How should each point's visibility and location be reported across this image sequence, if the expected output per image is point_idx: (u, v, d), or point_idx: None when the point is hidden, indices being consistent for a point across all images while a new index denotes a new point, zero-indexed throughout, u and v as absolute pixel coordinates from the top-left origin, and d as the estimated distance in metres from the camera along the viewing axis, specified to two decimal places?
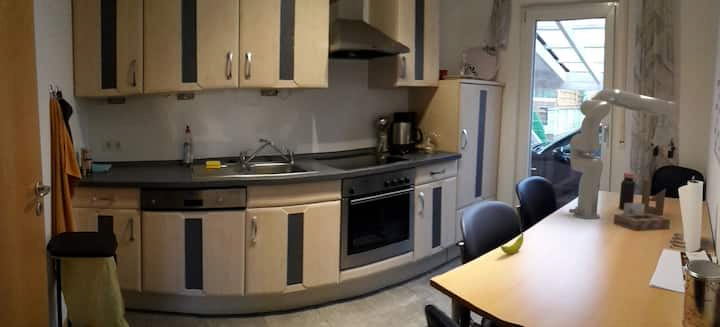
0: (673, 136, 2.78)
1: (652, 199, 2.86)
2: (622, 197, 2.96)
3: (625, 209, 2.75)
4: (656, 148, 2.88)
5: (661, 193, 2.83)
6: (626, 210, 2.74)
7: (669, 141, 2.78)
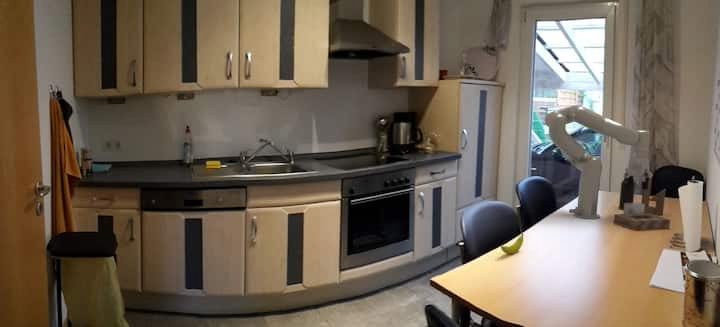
0: (647, 166, 2.67)
1: (652, 199, 2.86)
2: (622, 197, 2.96)
3: (625, 209, 2.75)
4: (631, 178, 2.77)
5: (661, 193, 2.83)
6: (626, 210, 2.74)
7: (643, 171, 2.67)
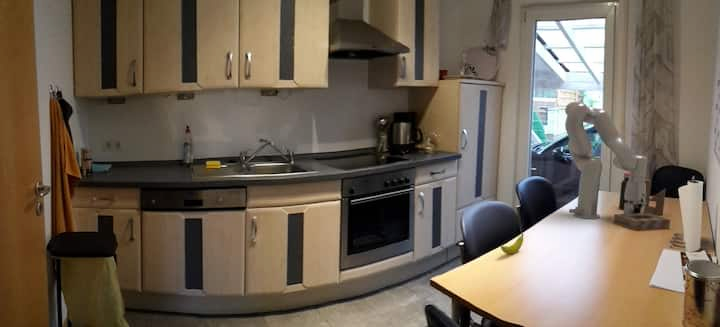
0: (644, 192, 2.69)
1: (652, 199, 2.86)
2: (622, 197, 2.96)
3: (625, 209, 2.75)
4: None
5: (661, 193, 2.83)
6: (626, 210, 2.74)
7: (640, 197, 2.69)
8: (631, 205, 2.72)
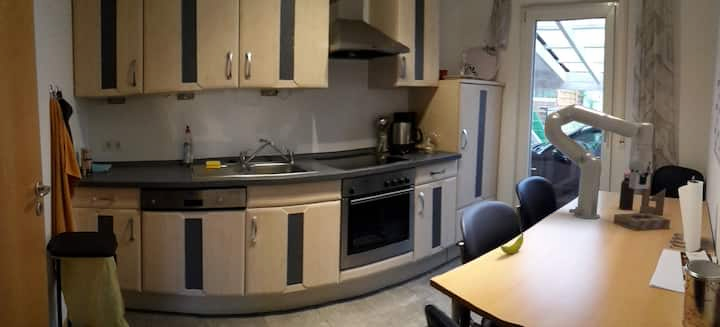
0: (650, 160, 2.62)
1: (652, 199, 2.86)
2: (622, 197, 2.96)
3: (631, 178, 2.67)
4: None
5: (661, 193, 2.83)
6: (632, 179, 2.67)
7: (646, 165, 2.61)
8: (637, 174, 2.64)
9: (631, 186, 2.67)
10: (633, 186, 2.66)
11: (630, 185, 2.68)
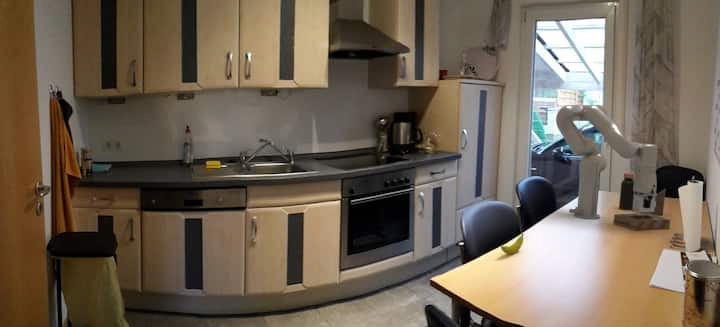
0: (654, 182, 2.52)
1: None
2: (622, 197, 2.96)
3: (635, 201, 2.58)
4: None
5: (661, 193, 2.83)
6: (635, 202, 2.58)
7: (650, 188, 2.52)
8: (641, 197, 2.55)
9: (635, 209, 2.58)
10: (637, 209, 2.57)
11: (634, 208, 2.59)
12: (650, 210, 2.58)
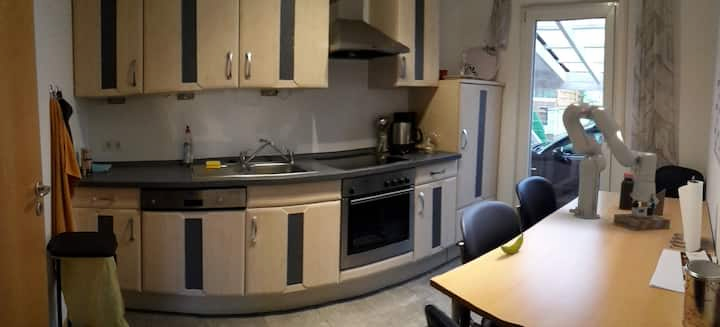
0: (653, 191, 2.53)
1: None
2: (622, 197, 2.96)
3: (633, 214, 2.59)
4: (636, 203, 2.63)
5: (661, 193, 2.83)
6: (633, 214, 2.59)
7: (649, 197, 2.53)
8: (639, 210, 2.56)
9: None
10: None
11: None
12: None
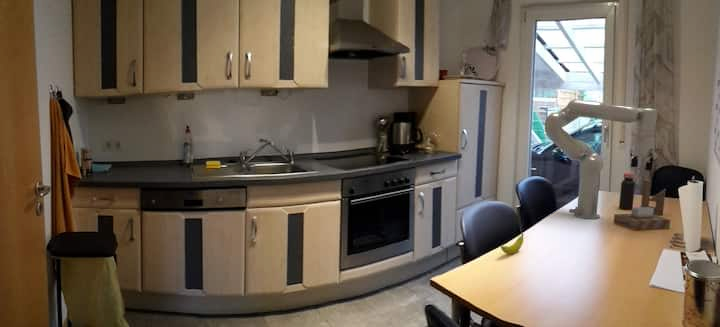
0: (652, 146, 2.55)
1: (652, 199, 2.86)
2: (622, 197, 2.96)
3: (633, 214, 2.59)
4: (635, 159, 2.65)
5: (661, 193, 2.83)
6: (633, 214, 2.59)
7: (648, 152, 2.55)
8: (639, 210, 2.56)
9: None
10: None
11: None
12: None
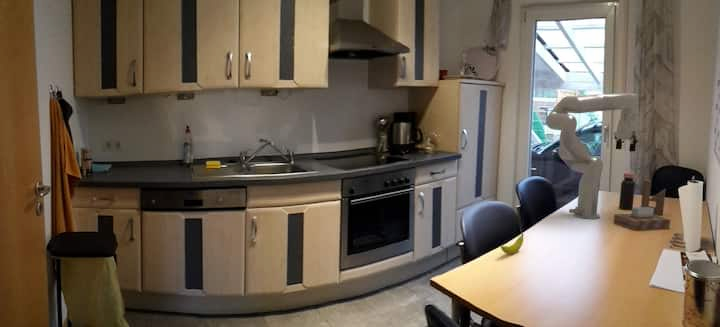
0: (635, 129, 2.74)
1: (652, 199, 2.86)
2: (622, 197, 2.96)
3: (633, 214, 2.59)
4: (619, 141, 2.84)
5: (661, 193, 2.83)
6: (633, 214, 2.59)
7: (631, 134, 2.74)
8: (639, 210, 2.56)
9: None
10: None
11: None
12: None
